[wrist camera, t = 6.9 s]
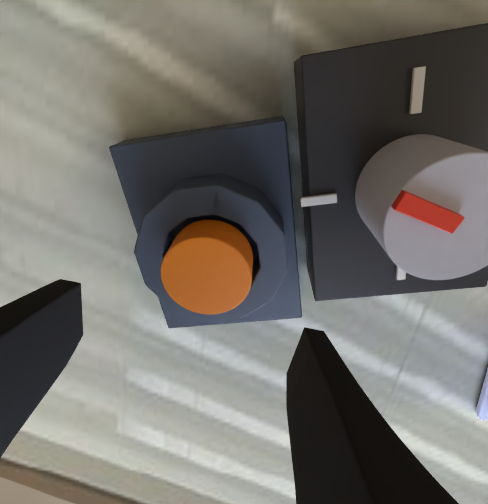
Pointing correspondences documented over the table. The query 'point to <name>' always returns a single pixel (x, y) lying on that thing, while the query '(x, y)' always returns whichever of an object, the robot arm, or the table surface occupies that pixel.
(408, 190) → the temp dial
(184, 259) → the button
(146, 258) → the button base
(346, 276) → the dial panel
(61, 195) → the table surface
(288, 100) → the table surface
